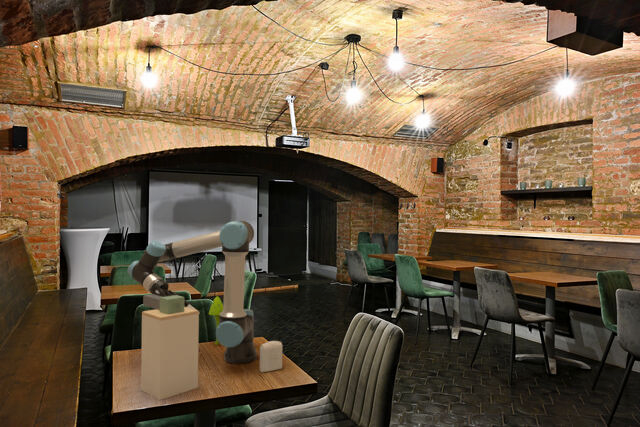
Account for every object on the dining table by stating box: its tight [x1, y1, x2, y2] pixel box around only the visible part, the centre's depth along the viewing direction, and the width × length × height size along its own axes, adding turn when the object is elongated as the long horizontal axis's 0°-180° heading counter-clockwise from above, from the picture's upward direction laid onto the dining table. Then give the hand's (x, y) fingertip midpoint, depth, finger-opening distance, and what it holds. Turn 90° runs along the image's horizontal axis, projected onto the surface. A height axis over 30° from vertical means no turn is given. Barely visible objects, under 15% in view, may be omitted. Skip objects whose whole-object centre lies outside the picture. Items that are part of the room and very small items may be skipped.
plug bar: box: [142, 293, 185, 314], centre depth 177 cm, size 22×7×6 cm, turn 48°
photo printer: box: [259, 340, 283, 373], centre depth 194 cm, size 10×4×12 cm, turn 123°
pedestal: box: [140, 307, 200, 401], centre depth 172 cm, size 14×16×30 cm
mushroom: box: [208, 296, 224, 346], centre depth 231 cm, size 8×8×25 cm
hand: (191, 314), depth 189 cm, fingers open, 12 cm apart
